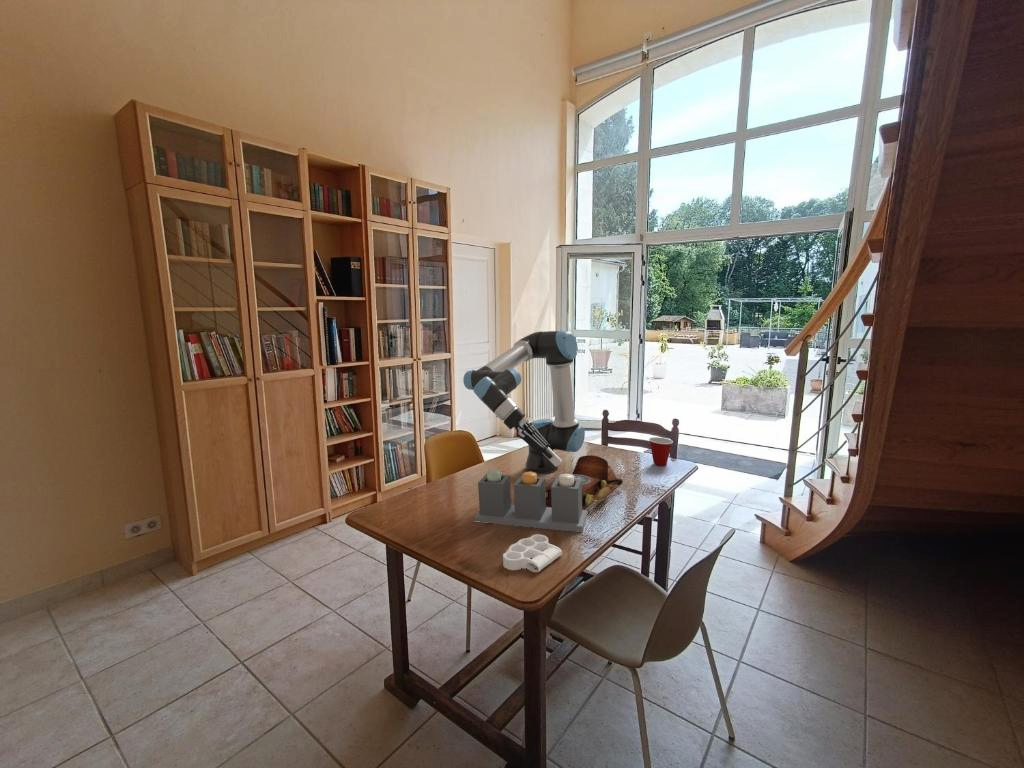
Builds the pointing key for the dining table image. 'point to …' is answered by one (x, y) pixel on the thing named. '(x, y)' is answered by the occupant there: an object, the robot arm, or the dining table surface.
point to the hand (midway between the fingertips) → (559, 463)
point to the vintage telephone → (591, 480)
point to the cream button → (566, 480)
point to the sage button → (494, 476)
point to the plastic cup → (660, 450)
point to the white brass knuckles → (531, 553)
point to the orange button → (529, 478)
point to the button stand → (531, 504)
